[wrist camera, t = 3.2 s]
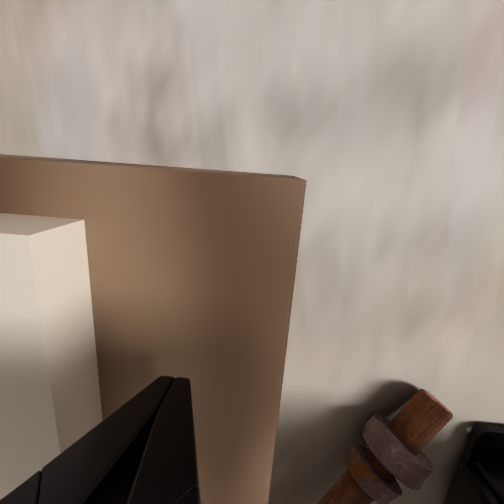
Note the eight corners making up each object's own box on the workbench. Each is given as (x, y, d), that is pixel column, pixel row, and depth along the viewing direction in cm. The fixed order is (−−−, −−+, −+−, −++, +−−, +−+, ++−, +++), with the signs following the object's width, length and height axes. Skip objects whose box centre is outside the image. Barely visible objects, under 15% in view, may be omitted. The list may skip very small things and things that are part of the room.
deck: (293, 175, 11) (306, 180, 8) (267, 421, 15) (267, 510, 11) (-103, 146, 12) (-280, 136, 8) (-41, 391, 15) (-145, 467, 11)
